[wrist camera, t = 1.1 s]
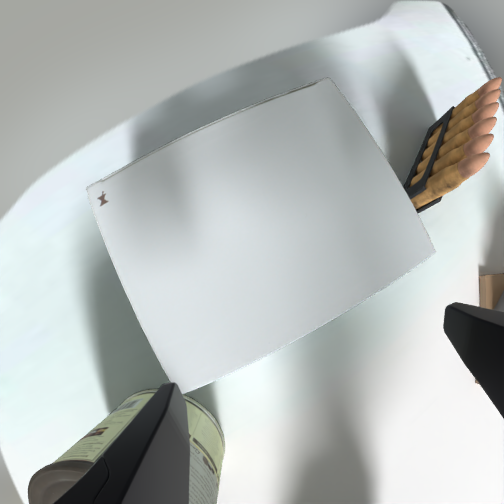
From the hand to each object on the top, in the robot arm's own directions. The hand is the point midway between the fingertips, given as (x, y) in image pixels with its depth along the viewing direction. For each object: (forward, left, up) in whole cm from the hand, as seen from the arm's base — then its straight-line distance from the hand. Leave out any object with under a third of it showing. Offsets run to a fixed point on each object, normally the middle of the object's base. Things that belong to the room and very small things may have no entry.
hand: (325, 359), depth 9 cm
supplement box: (+6, +1, -16) cm, 17 cm away
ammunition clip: (+13, -14, -16) cm, 25 cm away
